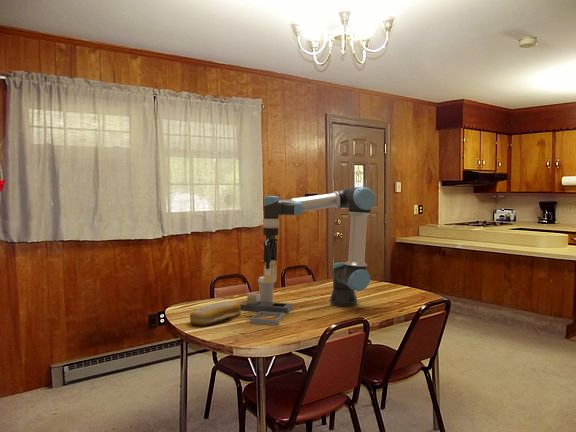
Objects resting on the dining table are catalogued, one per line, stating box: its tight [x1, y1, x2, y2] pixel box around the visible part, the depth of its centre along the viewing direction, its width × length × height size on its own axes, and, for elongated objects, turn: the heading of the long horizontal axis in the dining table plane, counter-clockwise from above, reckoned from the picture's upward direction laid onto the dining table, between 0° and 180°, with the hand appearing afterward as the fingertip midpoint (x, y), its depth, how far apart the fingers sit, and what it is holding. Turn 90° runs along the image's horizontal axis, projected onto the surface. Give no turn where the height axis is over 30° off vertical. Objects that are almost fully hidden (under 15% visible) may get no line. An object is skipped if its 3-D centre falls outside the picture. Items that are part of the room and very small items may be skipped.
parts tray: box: [250, 311, 286, 326], centre depth 213 cm, size 13×13×2 cm
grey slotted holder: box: [239, 300, 293, 315], centre depth 229 cm, size 26×9×4 cm, turn 74°
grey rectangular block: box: [246, 292, 260, 305], centre depth 231 cm, size 5×5×8 cm
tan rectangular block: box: [263, 264, 278, 284], centre depth 217 cm, size 5×5×8 cm
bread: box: [189, 301, 241, 327], centre depth 214 cm, size 13×26×8 cm, turn 140°
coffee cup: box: [257, 275, 275, 302], centre depth 244 cm, size 10×10×15 cm
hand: (270, 274), depth 217 cm, fingers closed on tan rectangular block, 5 cm apart
